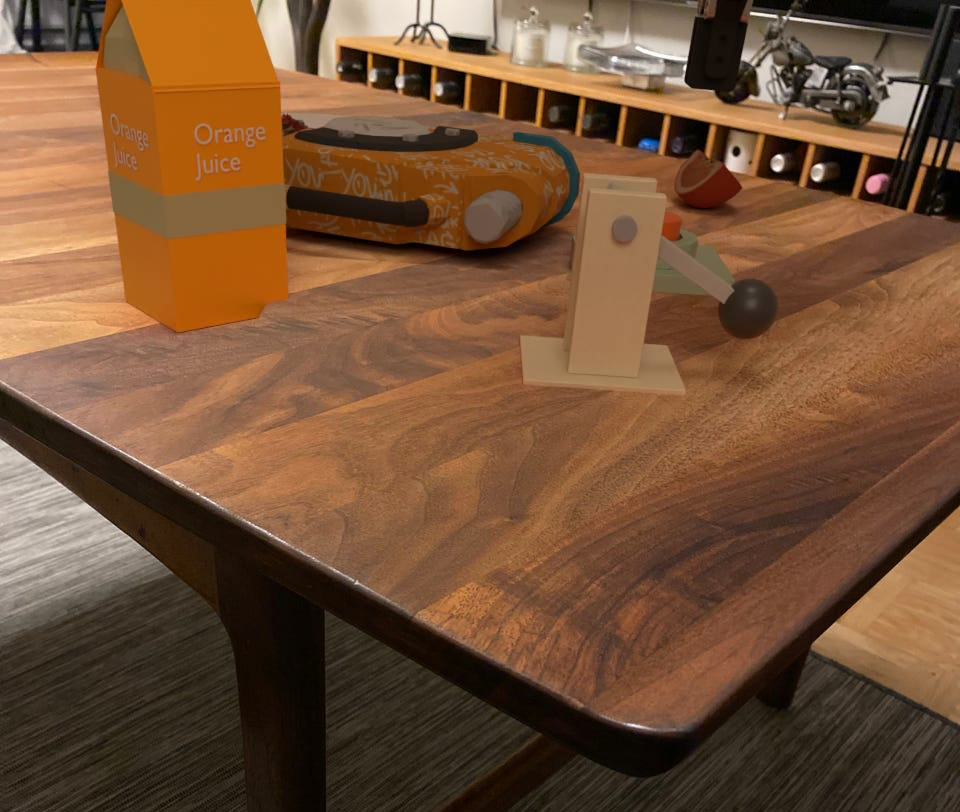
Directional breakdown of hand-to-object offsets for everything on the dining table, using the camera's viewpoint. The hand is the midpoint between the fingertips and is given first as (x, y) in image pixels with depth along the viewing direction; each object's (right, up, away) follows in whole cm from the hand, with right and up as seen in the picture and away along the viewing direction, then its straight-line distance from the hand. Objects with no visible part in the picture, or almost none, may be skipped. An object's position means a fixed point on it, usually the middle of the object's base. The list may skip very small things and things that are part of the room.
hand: (708, 87), depth 69 cm
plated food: (-33, +18, +48) cm, 62 cm away
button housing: (-2, -8, +15) cm, 17 cm away
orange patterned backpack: (-24, -1, +23) cm, 33 cm away
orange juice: (-35, -14, +4) cm, 38 cm away
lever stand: (-8, -20, -3) cm, 22 cm away
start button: (-2, -5, +13) cm, 14 cm away
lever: (-4, -16, -6) cm, 17 cm away
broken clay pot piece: (+8, +9, +40) cm, 42 cm away
